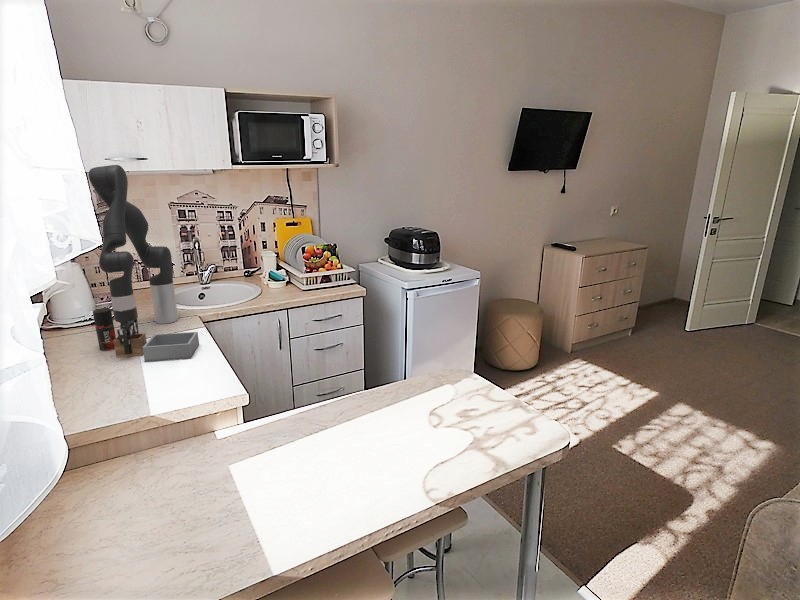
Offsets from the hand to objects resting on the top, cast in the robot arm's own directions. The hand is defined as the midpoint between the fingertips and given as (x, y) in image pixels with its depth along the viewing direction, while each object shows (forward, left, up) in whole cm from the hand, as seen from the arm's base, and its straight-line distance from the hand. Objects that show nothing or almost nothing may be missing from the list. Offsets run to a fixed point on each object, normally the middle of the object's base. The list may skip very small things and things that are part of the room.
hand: (131, 350), depth 185 cm
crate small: (0, 0, -1) cm, 1 cm away
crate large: (+3, +15, -1) cm, 15 cm away
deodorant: (-8, -11, -1) cm, 14 cm away
